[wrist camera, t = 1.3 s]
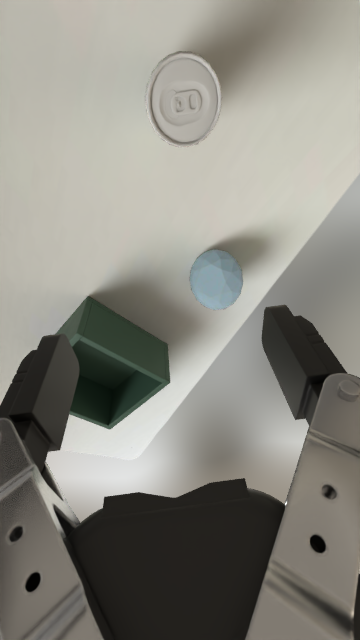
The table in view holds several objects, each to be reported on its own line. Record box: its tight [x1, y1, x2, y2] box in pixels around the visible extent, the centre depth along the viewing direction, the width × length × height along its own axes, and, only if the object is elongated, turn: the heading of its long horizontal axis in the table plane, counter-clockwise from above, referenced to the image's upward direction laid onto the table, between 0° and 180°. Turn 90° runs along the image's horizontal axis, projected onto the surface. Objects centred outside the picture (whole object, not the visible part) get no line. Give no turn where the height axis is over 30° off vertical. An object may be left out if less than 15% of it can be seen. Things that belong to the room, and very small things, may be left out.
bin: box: [55, 296, 170, 429], centre depth 42 cm, size 15×15×8 cm
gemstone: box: [190, 249, 243, 310], centre depth 37 cm, size 8×8×5 cm
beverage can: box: [145, 51, 222, 147], centre depth 22 cm, size 5×5×12 cm
